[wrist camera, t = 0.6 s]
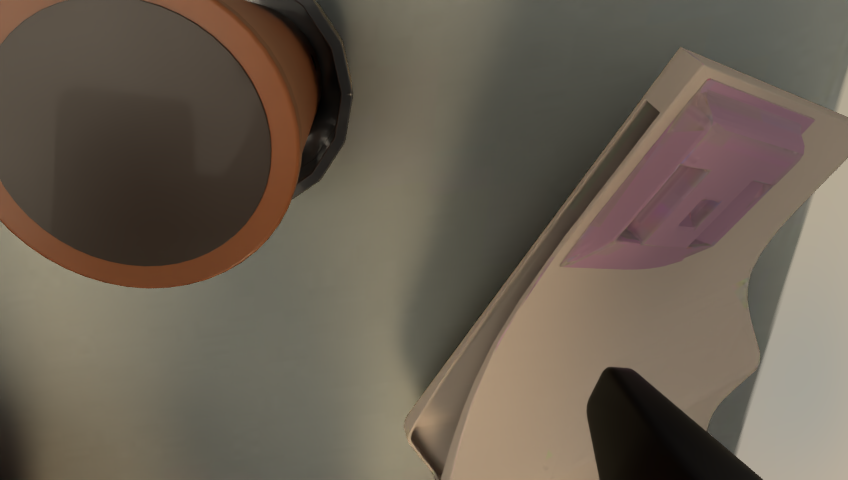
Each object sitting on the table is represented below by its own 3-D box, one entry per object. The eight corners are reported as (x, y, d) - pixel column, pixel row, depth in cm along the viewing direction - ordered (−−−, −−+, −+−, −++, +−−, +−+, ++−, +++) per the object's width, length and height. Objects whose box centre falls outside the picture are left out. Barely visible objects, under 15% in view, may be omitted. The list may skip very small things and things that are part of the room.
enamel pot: (333, 189, 23) (329, 230, 18) (141, 156, 21) (84, 191, 17) (365, -2, 20) (370, -11, 16) (150, -55, 19) (88, -81, 14)
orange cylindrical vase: (313, 166, 22) (278, 309, 11) (164, 139, 21) (-45, 267, 10) (335, 18, 20) (322, 7, 9) (174, -19, 19) (-70, -85, 8)
